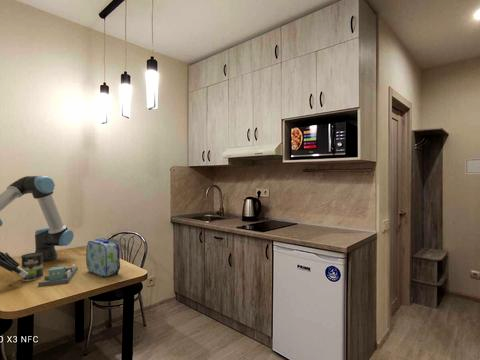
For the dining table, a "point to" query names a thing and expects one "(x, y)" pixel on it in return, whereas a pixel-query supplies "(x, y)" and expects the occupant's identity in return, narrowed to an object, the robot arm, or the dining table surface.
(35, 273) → the coffee can
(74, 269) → the rack
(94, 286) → the dining table surface
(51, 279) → the teal box
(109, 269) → the lunch box
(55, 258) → the robot arm
